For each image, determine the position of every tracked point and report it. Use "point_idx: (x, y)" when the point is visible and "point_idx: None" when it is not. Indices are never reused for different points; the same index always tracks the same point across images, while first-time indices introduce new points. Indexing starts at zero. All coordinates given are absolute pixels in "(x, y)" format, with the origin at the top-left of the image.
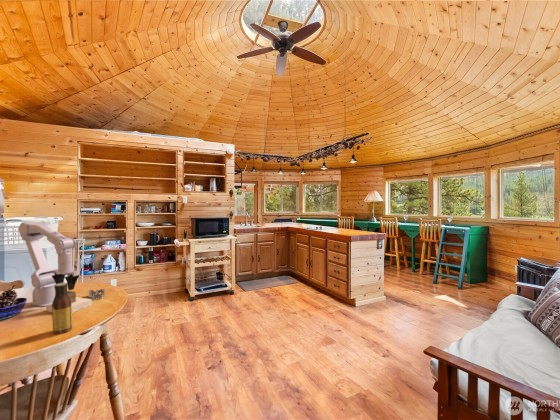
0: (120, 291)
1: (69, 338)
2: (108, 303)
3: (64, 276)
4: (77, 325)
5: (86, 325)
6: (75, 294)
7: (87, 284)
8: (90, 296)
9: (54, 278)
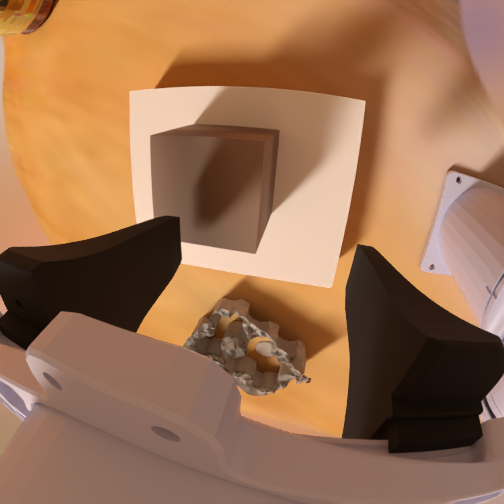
0: None
1: None
2: None
3: (347, 417)
4: (29, 54)
5: (11, 72)
6: None
7: None
8: (220, 309)
9: (433, 320)
